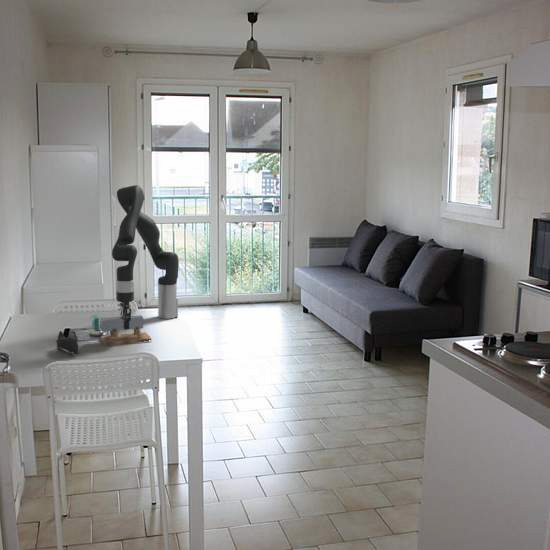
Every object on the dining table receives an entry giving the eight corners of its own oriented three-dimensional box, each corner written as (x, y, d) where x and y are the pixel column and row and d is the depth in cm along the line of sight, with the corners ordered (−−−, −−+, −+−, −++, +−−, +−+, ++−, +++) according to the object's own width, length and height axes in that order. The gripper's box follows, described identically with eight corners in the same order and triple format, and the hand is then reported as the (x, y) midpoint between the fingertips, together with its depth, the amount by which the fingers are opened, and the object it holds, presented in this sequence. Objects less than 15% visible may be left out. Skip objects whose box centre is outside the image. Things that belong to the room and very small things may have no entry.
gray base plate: (105, 328, 333) (105, 327, 333) (112, 338, 317) (112, 337, 317) (72, 330, 327) (72, 330, 327) (78, 341, 311) (78, 340, 311)
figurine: (53, 356, 297) (68, 358, 286) (50, 332, 297) (65, 333, 285) (70, 353, 302) (85, 355, 291) (67, 329, 302) (82, 331, 290)
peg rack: (145, 335, 323) (145, 323, 322) (151, 341, 313) (151, 329, 312) (101, 339, 315) (100, 326, 314) (105, 345, 305) (105, 332, 304)
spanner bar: (140, 325, 318) (140, 314, 317) (143, 328, 313) (143, 317, 312) (100, 328, 311) (100, 317, 310) (102, 332, 306) (102, 320, 305)
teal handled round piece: (103, 326, 333) (102, 314, 332) (108, 334, 320) (108, 321, 319) (85, 328, 330) (85, 315, 328) (90, 336, 317) (90, 323, 316)
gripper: (137, 292, 305) (137, 331, 308) (130, 286, 317) (130, 323, 321) (119, 294, 302) (120, 332, 305) (113, 287, 315) (114, 324, 318)
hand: (125, 327), depth 313 cm, fingers closed on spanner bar, 4 cm apart
